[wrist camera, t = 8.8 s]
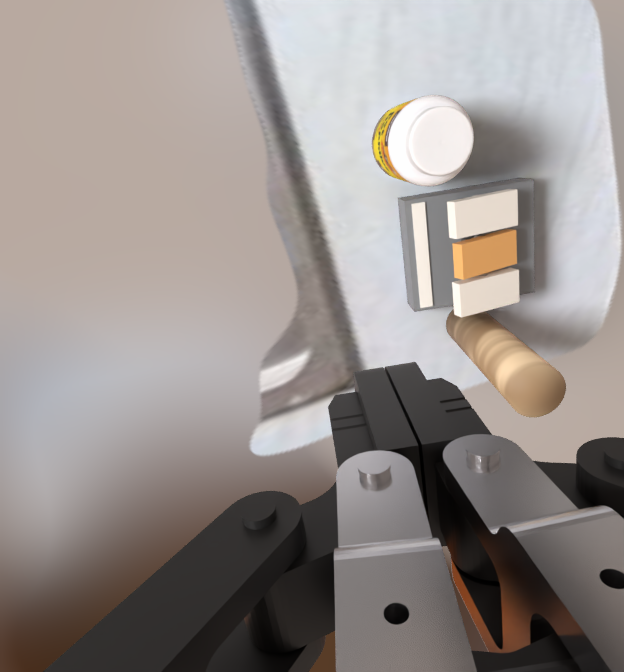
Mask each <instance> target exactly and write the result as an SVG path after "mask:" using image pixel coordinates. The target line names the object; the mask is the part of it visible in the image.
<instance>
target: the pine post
mask: <svg viewBox="0 0 624 672" xmlns="http://www.w3.org/2000/svg"><path fill="white" fill-rule="evenodd" d="M446 329H447V332H448V334H449V335H450V336H451V338H452V339H453V340H454V341H455V342H456V343H457V344H458V346H459V347H460V348H461V349H462V350H463V351H464V352H465V354H466V355H467V356H468V357H469V358H470V359H471V360H472V362H473V363H474V364H475V365H476V366H477V367H478V368H479V369H480V371H481V372H482V373H483V374H484V375H485V376H486V377H487V379H488V380H489V381H490V382H491V383H492V384H493V385H494V387H495V388H496V389H497V390H498V391H499V392H500V393H501V395H502V396H503V397H504V398H505V399H506V400H507V401H508V403H509V404H510V405H511V406H512V407H513V408H514V409H515V411H517V412H518V413H519V414H521V415H523V416H526V417H540V416H543V415H546V414H548V413H550V412H552V411H553V410H554V409H555V408H556V407H558V405H559V404H560V403H561V401H562V400H563V398H564V395H565V391H566V384H565V380H564V378H563V376H562V375H561V374H560V372H559V371H557V370H556V369H555V368H554V367H552V366H551V365H550V364H549V363H548V362H546V361H545V360H544V359H543V358H541V357H540V356H539V355H538V354H537V353H535V352H534V351H533V350H532V349H530V348H529V347H528V346H527V345H526V344H524V343H523V342H522V341H521V340H519V339H518V338H517V337H516V336H515V335H513V334H512V333H511V332H510V331H508V330H507V329H506V328H505V327H503V326H502V325H501V324H500V323H499V322H497V321H496V320H495V319H494V318H492V317H491V316H490V315H489V314H488V313H486V312H485V311H484V312H480V313H477V314H473V315H469V316H465V317H462V318H461V317H459V316H457V315H455V314H454V309H453V310H452V311H451V313H450V314H449V316H448V318H447V321H446Z"/></svg>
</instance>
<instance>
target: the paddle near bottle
mask: <svg viewBox="0 0 624 672" xmlns="http://www.w3.org/2000/svg"><path fill="white" fill-rule="evenodd" d="M447 210H448V226H449V238H454V239H460V238H464V237H469V236H473V235H477V234H482V233H486V232H491V231H495V230H499V229H504V228H508V227H513V226H517V225H518V193H517V189H506V190H501V191H496V192H492V193H487V194H478V195H473V196H472V197H467V198H463V199H458V200H453V201H448V202H447Z"/></svg>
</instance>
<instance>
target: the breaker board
mask: <svg viewBox="0 0 624 672" xmlns="http://www.w3.org/2000/svg"><path fill="white" fill-rule="evenodd" d="M506 189H517V193H518V225H517V226H513V227H508V228H504V229H513V230H516V240H517V264H514V265H511V266H507V267H504V268H501V269H497V270H494V271H498V270H502V269H506V268H514V269H518V270H519V295H520V294H527V293H533V292H534V180H532V179H524V178H517V179H511V180H505V181H498V182H492V183H486V184H480V185H474V186H468V187H462V188H456V189H450V190H444V191H438V192H432V193H426V194H419V195H413V196H407V197H401V198H398V205H399V216H400V226H401V237H402V247H403V258H404V268H405V279H406V289H407V300H408V304H409V305H410V307H411V308H412V309H413V310H414V312H416V311H422V310H428V309H435V308H441V307H447V306H453V305H454V304H453V288H452V282H454V281H458V280H462V279H458V278H455V277H454V261H453V245H452V243H456V242H460V241H463V240H467V239H471V238H474V236H476V235H473V236H469V237H464V238H460V239H454V238H449V226H448V210H447V202H448V201H453V200H458V199H463V198H467V197H472V196H473V195H478V194H487V193H492V192H496V191H501V190H506ZM504 229H499V230H495V231H491V232H486V233H482V234H477V235H486V234H489V233H493V232H497V231H500V230H504ZM494 271H491V272H494ZM488 273H490V272H488Z"/></svg>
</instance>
